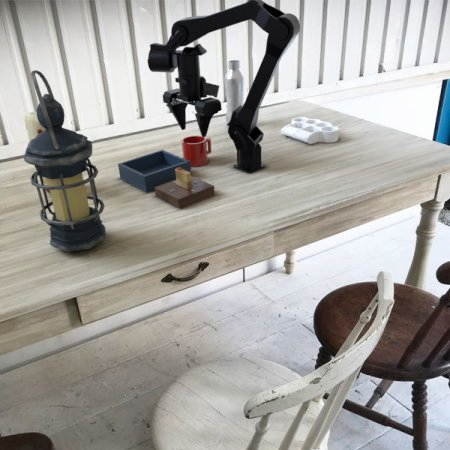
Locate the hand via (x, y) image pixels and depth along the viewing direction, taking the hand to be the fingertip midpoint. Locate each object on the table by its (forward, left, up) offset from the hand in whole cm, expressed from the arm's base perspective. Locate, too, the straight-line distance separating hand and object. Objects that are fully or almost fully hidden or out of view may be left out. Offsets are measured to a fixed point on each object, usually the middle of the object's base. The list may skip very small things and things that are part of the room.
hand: (193, 133), depth 144 cm
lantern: (-19, +47, -9) cm, 52 cm away
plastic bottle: (+16, -30, -9) cm, 35 cm away
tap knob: (-16, +16, -6) cm, 23 cm away
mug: (0, -1, -8) cm, 8 cm away
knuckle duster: (-9, -39, -9) cm, 41 cm away
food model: (+11, +38, -9) cm, 41 cm away
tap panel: (-16, +16, -8) cm, 24 cm away
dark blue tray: (-1, +15, -8) cm, 17 cm away
